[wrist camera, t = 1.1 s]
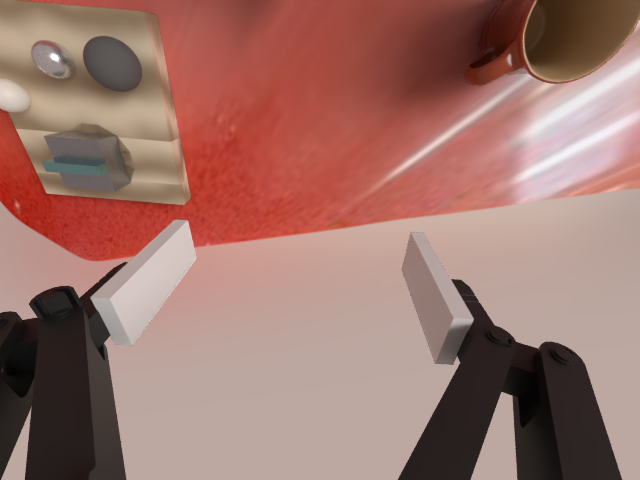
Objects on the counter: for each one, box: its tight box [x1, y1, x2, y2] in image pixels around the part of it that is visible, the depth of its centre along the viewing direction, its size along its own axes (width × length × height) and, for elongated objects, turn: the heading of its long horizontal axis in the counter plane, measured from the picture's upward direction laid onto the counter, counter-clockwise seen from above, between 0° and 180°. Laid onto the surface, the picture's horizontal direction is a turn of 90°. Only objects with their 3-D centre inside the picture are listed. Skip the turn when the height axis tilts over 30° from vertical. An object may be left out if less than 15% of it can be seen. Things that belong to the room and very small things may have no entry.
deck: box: [0, 0, 191, 205], centre depth 35 cm, size 22×20×2 cm
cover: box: [42, 131, 130, 192], centre depth 35 cm, size 6×6×5 cm
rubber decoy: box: [83, 36, 142, 92], centre depth 29 cm, size 5×5×5 cm
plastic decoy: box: [0, 78, 31, 113], centre depth 32 cm, size 4×4×4 cm
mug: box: [464, 0, 640, 86], centre depth 26 cm, size 12×9×10 cm
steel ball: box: [31, 40, 76, 79], centre depth 30 cm, size 4×4×4 cm
